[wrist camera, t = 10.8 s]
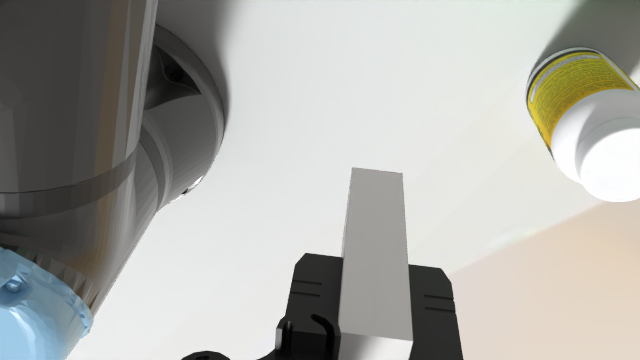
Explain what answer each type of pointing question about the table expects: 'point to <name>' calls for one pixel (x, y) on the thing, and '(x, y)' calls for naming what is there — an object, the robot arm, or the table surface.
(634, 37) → the table surface
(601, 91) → the pill bottle
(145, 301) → the table surface
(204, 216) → the table surface
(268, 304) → the table surface
